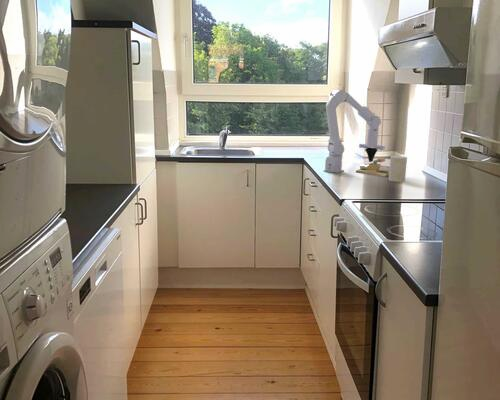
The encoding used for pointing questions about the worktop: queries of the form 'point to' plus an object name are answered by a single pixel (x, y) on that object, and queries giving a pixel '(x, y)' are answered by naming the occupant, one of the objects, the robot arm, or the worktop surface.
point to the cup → (397, 168)
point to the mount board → (372, 172)
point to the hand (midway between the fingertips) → (370, 161)
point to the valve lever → (379, 160)
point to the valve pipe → (374, 168)
